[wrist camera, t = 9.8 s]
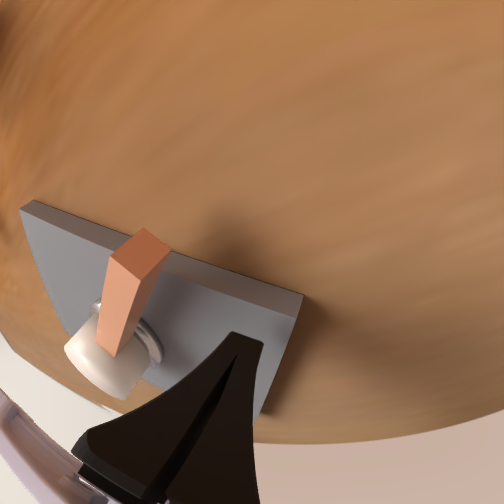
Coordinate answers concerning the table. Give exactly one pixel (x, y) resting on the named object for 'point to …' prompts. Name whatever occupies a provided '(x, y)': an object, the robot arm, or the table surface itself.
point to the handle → (120, 318)
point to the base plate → (161, 299)
